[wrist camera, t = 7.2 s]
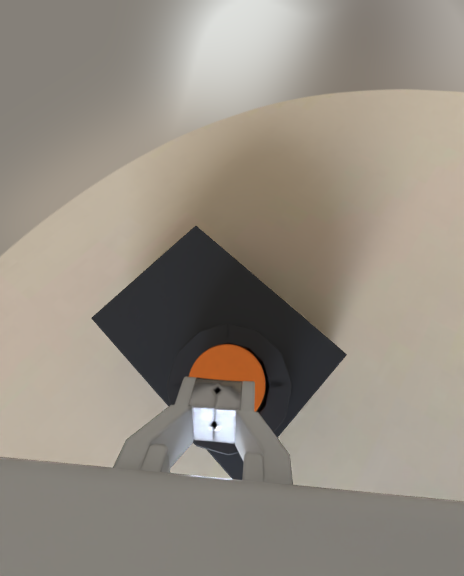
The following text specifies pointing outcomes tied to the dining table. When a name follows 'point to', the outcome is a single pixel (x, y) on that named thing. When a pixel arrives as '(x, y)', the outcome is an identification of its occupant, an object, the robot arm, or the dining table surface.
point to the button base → (216, 332)
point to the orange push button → (231, 367)
